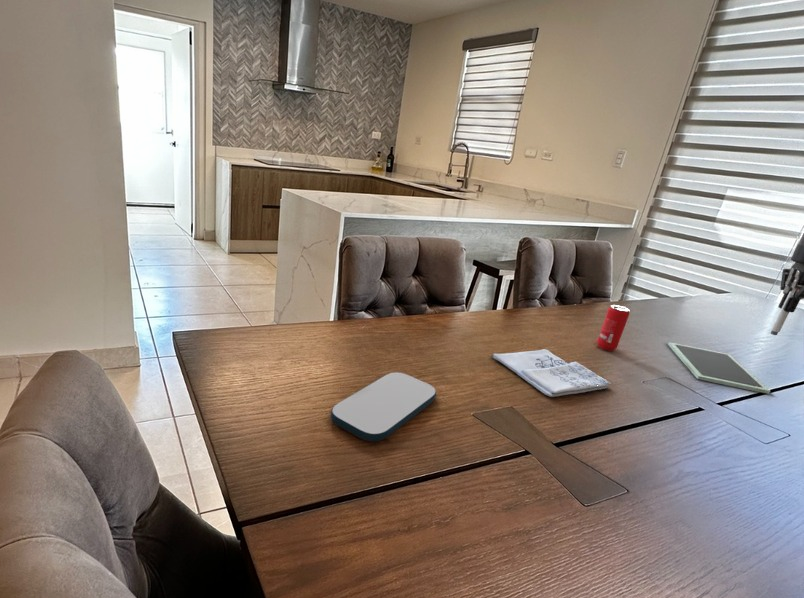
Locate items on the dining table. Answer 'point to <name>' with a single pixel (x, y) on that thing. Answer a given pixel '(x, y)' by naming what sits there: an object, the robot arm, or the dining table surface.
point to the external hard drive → (383, 406)
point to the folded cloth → (552, 373)
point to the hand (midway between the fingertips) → (785, 309)
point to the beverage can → (613, 327)
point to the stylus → (780, 319)
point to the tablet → (717, 368)
